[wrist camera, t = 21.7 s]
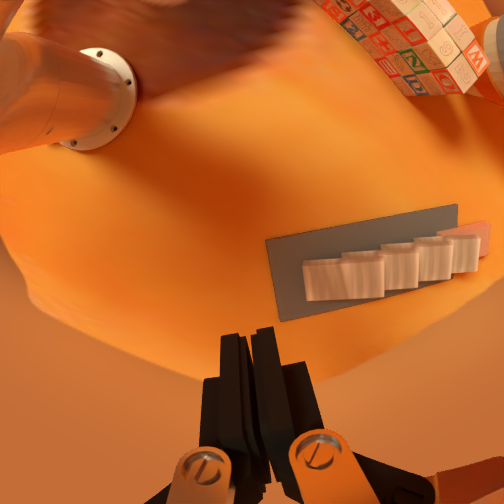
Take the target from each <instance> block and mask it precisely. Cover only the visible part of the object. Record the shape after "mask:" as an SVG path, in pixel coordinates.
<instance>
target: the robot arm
mask: <svg viewBox="0 0 504 504" xmlns="http://www.w3.org/2000/svg"><path fill="white" fill-rule="evenodd" d="M23 1H24V0H0V155H1V154H5V153H9V152H14V151H18V150H23V149H27V148H32V147H36V146H41V145H46V144H51V143H56V142H59V143H60V144H62V145H63V146H65V147H67V148H70V149H74V150H91V149H95V148H98V147H101V146H104V145H105V144H107V143H109V142H111V141H112V140H113V139H115V138H116V137H117V136H118V135H119V134H120V133H121V132H122V131H123V130H124V128H125V127H126V126H127V124H128V122H129V121H130V119H131V117H132V115H133V112H134V110H135V106H136V102H137V92H138V87H137V80H136V77H135V74H134V71H133V69H132V68H131V66H130V64H129V63H128V62H127V61H126V60H125V59H124V58H123V57H122V56H121V55H119V54H118V53H116V52H114V51H111V50H109V49H105V48H88V49H84V50H81V51H77V50H74V49H72V48H69V47H66V46H64V45H61V44H58V43H56V42H53V41H50V40H47V39H45V38H42V37H39V36H36V35H33V34H30V33H25V32H8V33H5V31H6V30H7V28H8V26H9V24H10V23H11V21H12V19H13V17H14V16H15V14H16V12H17V11H18V9H19V8H20V6H21V4H22V3H23ZM102 53H103V55H102V56H101V54H102ZM130 81H131V82H132V83H131V85H129V84H128V83H129V82H130ZM116 126H117V130H115V127H116ZM76 141H77V144H76V143H75V142H76ZM251 345H252V356H253V362H252V358H251V355H250V351H249V347H248V343H247V339H246V336H243V337H240V336H239V334H238V333H234V334H229V335H223V336H221V347H220V377H213V378H206V379H204V382H203V394H202V407H201V422H200V438H199V447H198V448H195V449H192V450H190V451H189V452H187V453H185V454H184V455H183V456H182V458H181V459H180V460H179V462H178V464H177V466H176V469H175V473H174V477H173V481H172V483H170V484H169V485H168V486H167V487H165V488H164V489H163V490H161V491H160V492H159V493H158V494H156V495H155V496H154V497H152V498H151V499H150V500H148V501H147V502H145V503H144V504H258V503H259V502H260V501H261V500H262V499H263V493H265V492H266V487H265V484H268V483H271V473H270V465H269V460H270V463H271V466H272V469H273V472H274V475H275V478H276V481H277V482H281V483H282V486H283V490H284V493H285V495H286V496H288V497H289V498H291V499H293V500H295V501H297V502H299V503H300V504H504V457H502V456H498V457H492V458H489V459H486V460H483V461H480V462H476V463H473V464H469V465H466V466H462V467H458V468H454V469H450V470H445V471H441V472H437V473H436V474H435V475H434V476H429V477H422V476H420V475H417V474H413V473H410V472H407V471H404V470H401V469H398V468H395V467H392V466H389V465H386V464H384V463H380V462H378V461H376V460H373V459H370V458H367V457H365V456H362V455H360V454H357V453H355V452H352V451H351V449H350V447H349V446H348V444H347V442H346V441H345V439H344V438H343V437H342V436H341V435H340V434H338V433H336V432H335V431H331V430H328V429H324V425H323V422H322V419H321V415H320V411H319V408H318V404H317V401H316V397H315V394H314V391H313V387H312V383H311V380H310V376H309V373H308V369H307V366H306V363H305V361H303V362H298V363H293V364H289V365H284V366H281V363H280V358H279V353H278V348H277V343H276V338H275V333H274V328H273V326H272V327H267V328H262V329H257V334H254V335H251Z"/></svg>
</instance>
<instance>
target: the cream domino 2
mask: <svg viewBox="0 0 504 504" xmlns="http://www.w3.org/2000/svg"><path fill="white" fill-rule="evenodd" d="M368 256H383V258H384V290H394V289H407V288H418V276H419V251H418V249H417V247H415V248H401V249H387V250H373V251H359V252H344V253H342V257H341V258H352V257H368Z"/></svg>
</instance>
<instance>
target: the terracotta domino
mask: <svg viewBox="0 0 504 504" xmlns="http://www.w3.org/2000/svg"><path fill="white" fill-rule="evenodd" d="M490 229H491V224H489V223H487V222H485V221H483V222H479V223H475V224H470V225H466V226H461V227H457V228H452V229H448V230H443V231H439V232H437V236H454V235H471V234H477V235H478V236H479V237H480V238H481V241H480V251H479V257H482V256H485V255H488V249H489V239H490Z"/></svg>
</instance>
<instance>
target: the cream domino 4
mask: <svg viewBox="0 0 504 504" xmlns="http://www.w3.org/2000/svg"><path fill="white" fill-rule="evenodd" d="M449 240H450V241H451V242H452V244H453V258H452V269H451V273H462V272H475V271H477V268H478V260H479V251H480V241H481V238H480V237H479V236H478V235H477V234H471V235H454V236H436V237H419V238H413V242H431V241H449Z"/></svg>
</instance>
